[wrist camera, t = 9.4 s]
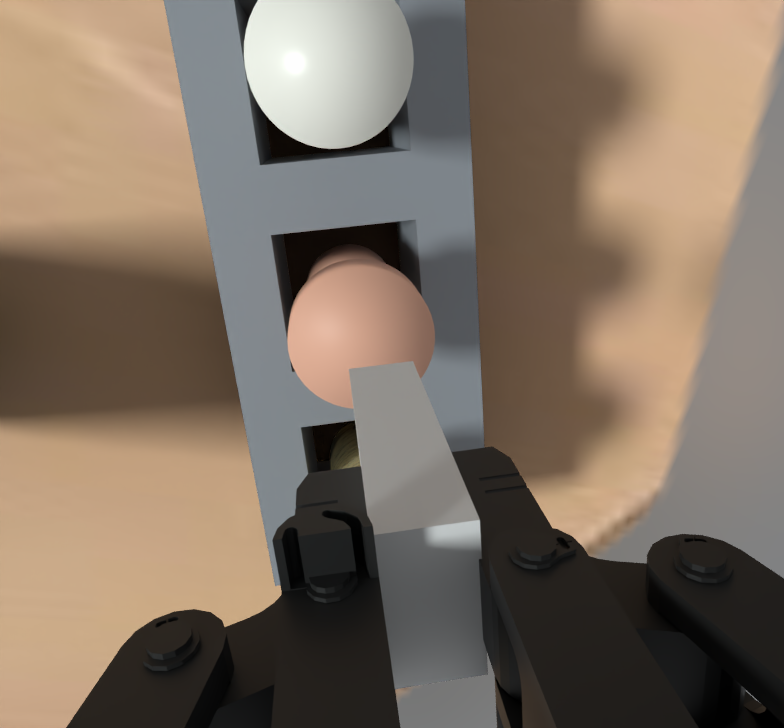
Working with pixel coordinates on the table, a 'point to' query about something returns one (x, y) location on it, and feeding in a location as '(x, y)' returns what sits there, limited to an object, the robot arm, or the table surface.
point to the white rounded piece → (329, 67)
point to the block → (327, 211)
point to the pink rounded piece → (355, 322)
